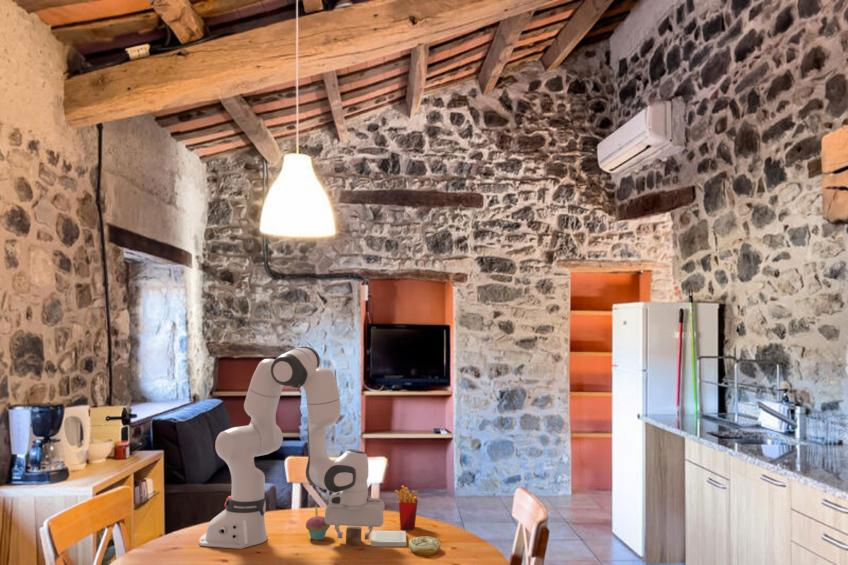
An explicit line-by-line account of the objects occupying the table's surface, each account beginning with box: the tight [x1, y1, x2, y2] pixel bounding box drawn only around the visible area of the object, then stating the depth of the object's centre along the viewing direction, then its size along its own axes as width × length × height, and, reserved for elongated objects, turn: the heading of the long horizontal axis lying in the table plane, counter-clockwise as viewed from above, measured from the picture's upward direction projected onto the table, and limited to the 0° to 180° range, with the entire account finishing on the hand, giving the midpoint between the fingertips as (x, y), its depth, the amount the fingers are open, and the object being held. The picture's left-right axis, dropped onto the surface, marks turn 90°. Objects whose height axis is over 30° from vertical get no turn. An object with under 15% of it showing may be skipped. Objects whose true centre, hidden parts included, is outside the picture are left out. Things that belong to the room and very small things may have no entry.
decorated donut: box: [408, 535, 441, 557], centre depth 219 cm, size 10×11×4 cm
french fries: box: [394, 485, 419, 531], centre depth 243 cm, size 9×8×15 cm
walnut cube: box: [345, 526, 363, 547], centre depth 225 cm, size 5×5×5 cm
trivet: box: [370, 530, 407, 547], centre depth 228 cm, size 12×12×2 cm
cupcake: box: [305, 504, 331, 541], centre depth 230 cm, size 9×8×12 cm
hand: (353, 538), depth 225 cm, fingers open, 8 cm apart
